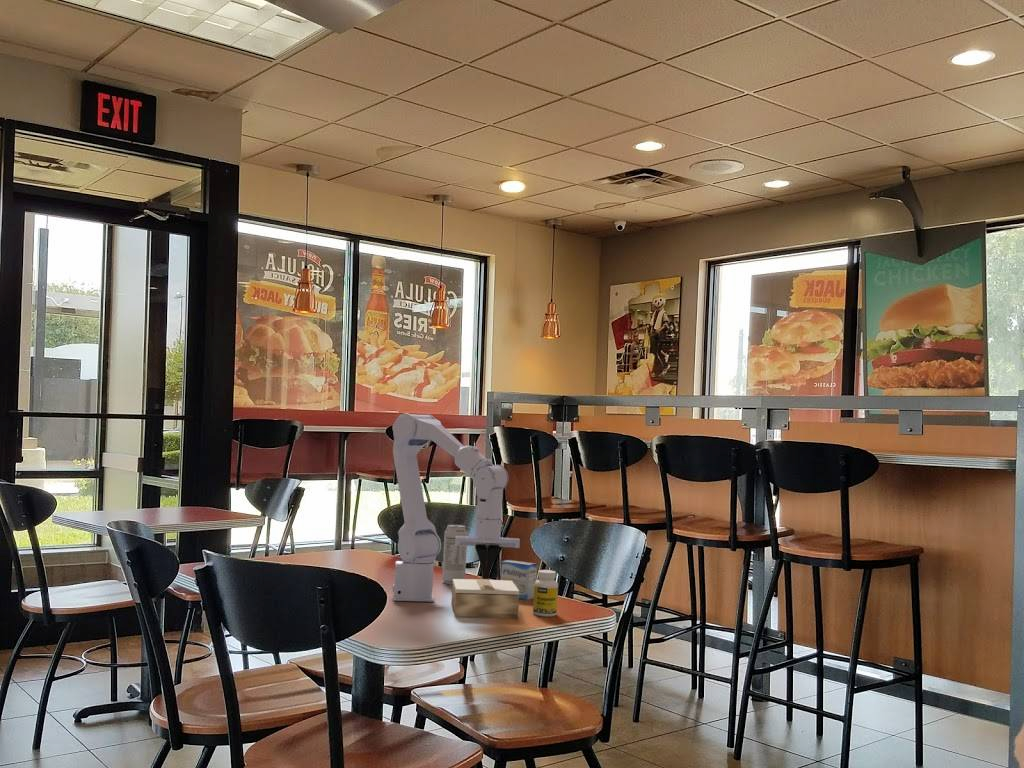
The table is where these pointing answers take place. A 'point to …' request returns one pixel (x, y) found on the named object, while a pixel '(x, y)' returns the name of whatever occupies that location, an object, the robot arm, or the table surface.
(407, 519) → the robot arm
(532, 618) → the table surface
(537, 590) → the supplement bottle
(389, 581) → the table surface
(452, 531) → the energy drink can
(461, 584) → the lid
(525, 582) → the medicine box
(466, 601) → the crate
